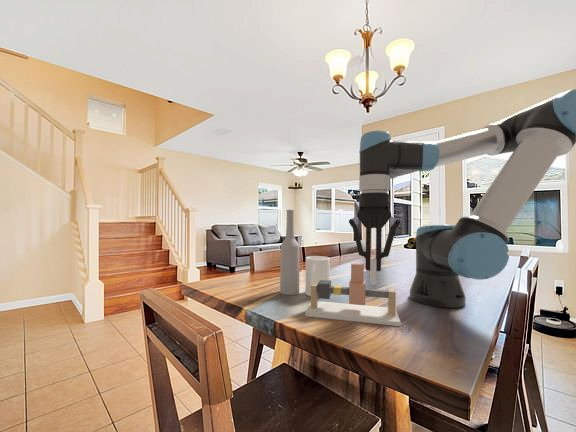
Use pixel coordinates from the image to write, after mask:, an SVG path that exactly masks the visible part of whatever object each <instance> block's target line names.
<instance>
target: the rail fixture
mask: <svg viewBox="0 0 576 432" xmlns="http://www.w3.org/2000/svg"><path fill="white" fill-rule="evenodd" d="M396 293H397V292H396V290H395V289H391V288H388V289H374V288H365V297H367V298H368V297H370V298H381V299H387V306H377V305H367V304H365V305H354V304H349V303H344V302H333V301H322V300H323V299H324V300H330V298H331V296H332V295H336V296H337V295H338V296H342V295H344V296H349V286H348V287H347V286H342V285H332V280H330V281H329V280H320V281H319V283H318V284H312V285H311V296H310V303H309V305H308V307H307V309H306V311H305V313H304V317H311V318H317V319H318V318H320V319H329V320H339V321H346V322H347V321H348V322H357V323H365V324H367V323H368V324H374V325H375V324H377V325H384V326H385V325H387V326H392V327H393V326H395V327H401V324H402V323H401V319H400V316H399V313H398V312H397V309H396V308H397V307H396V306H397V305H396V301H397V300H396ZM320 299H322V300H320ZM319 300H320V301H319Z"/></svg>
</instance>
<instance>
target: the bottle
mask: <svg viewBox="0 0 576 432" xmlns="http://www.w3.org/2000/svg"><path fill="white" fill-rule="evenodd" d="M285 211H286V229H285V232H286V233H285V238H284V240H283V241H282V242H281V244H280V255H279V256H280V258H279V259H280V264H279V266H280V267H279V269H280V271H279V274H280V275H279V293H280V294H281V295H283V296H296V295H299V294H300V244H299V242H298V241H297V240H296V238H295V223H294V222H295V220H294V217H295V214H294V213H295V209H286V210H285Z"/></svg>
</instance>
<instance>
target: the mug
mask: <svg viewBox="0 0 576 432" xmlns="http://www.w3.org/2000/svg"><path fill="white" fill-rule="evenodd" d="M330 259H331V258H330V257H328V256H323V255H322V256H321V255H310V256H306V257H305V289H304V294H305V295H306V296H309V297H311V285H312V284H318V283H319V281H320V280H329V281H331V277H330V276H331V271H330V270H331V265H330V263H331V260H330Z"/></svg>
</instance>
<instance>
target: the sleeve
mask: <svg viewBox="0 0 576 432" xmlns="http://www.w3.org/2000/svg"><path fill="white" fill-rule="evenodd" d="M348 287H349V295H348V304H354V305H366V296H365V289H366V280H365V264H364V263H361V262H360V263H358V262H351V264H350V279H349V283H348Z"/></svg>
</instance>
